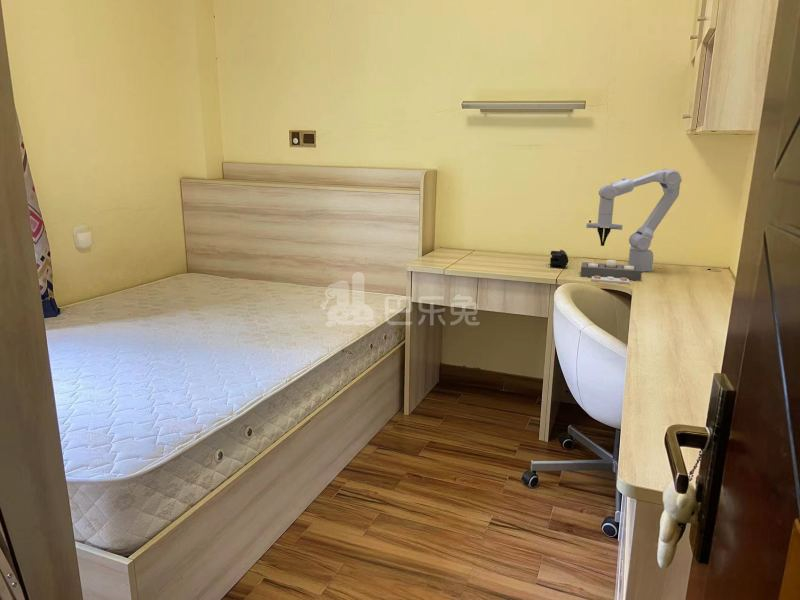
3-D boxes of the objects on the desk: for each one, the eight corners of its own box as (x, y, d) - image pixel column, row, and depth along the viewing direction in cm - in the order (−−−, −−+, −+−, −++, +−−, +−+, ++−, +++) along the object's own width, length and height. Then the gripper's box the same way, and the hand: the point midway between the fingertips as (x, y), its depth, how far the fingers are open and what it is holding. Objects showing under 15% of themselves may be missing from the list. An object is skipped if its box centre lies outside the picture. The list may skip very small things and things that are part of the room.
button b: (615, 269, 251) (616, 259, 250) (615, 271, 247) (616, 261, 246) (605, 268, 252) (606, 259, 251) (605, 270, 248) (606, 261, 247)
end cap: (567, 269, 263) (569, 253, 262) (550, 268, 265) (552, 253, 263) (566, 264, 273) (567, 249, 271) (549, 264, 274) (551, 249, 272)
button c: (597, 272, 253) (598, 263, 252) (597, 274, 250) (598, 265, 249) (587, 271, 255) (588, 262, 254) (587, 273, 251) (588, 264, 250)
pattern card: (628, 280, 242) (629, 277, 241) (629, 284, 236) (629, 280, 236) (591, 278, 246) (592, 274, 245) (591, 281, 240) (592, 277, 240)
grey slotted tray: (638, 275, 252) (640, 266, 251) (640, 281, 242) (641, 271, 241) (581, 271, 259) (582, 262, 258) (580, 276, 249) (581, 266, 248)
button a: (633, 275, 249) (634, 265, 248) (633, 277, 246) (634, 267, 245) (622, 274, 251) (623, 265, 250) (623, 276, 247) (624, 266, 246)
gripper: (623, 213, 259) (619, 245, 262) (587, 212, 263) (585, 243, 266) (623, 215, 252) (620, 247, 256) (587, 213, 256) (584, 245, 260)
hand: (602, 245), depth 261 cm, fingers closed
